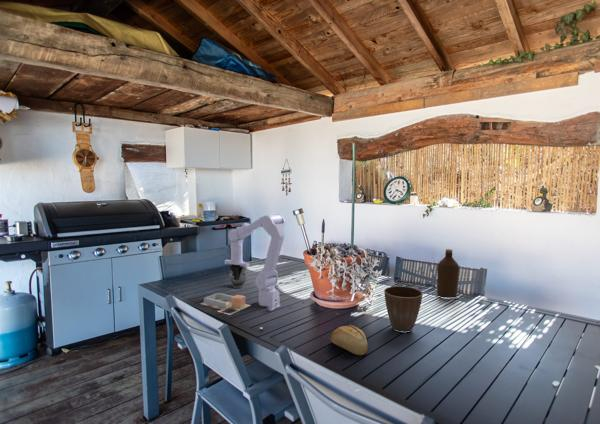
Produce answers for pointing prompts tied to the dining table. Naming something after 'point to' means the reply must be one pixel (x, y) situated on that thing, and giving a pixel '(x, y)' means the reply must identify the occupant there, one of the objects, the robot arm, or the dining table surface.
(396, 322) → the plant pot
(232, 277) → the mortar and pestle
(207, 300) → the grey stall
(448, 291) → the olive oil
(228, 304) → the birch deck
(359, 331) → the bread roll
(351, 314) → the dining table surface
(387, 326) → the dining table surface
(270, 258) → the robot arm
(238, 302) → the terracotta block
